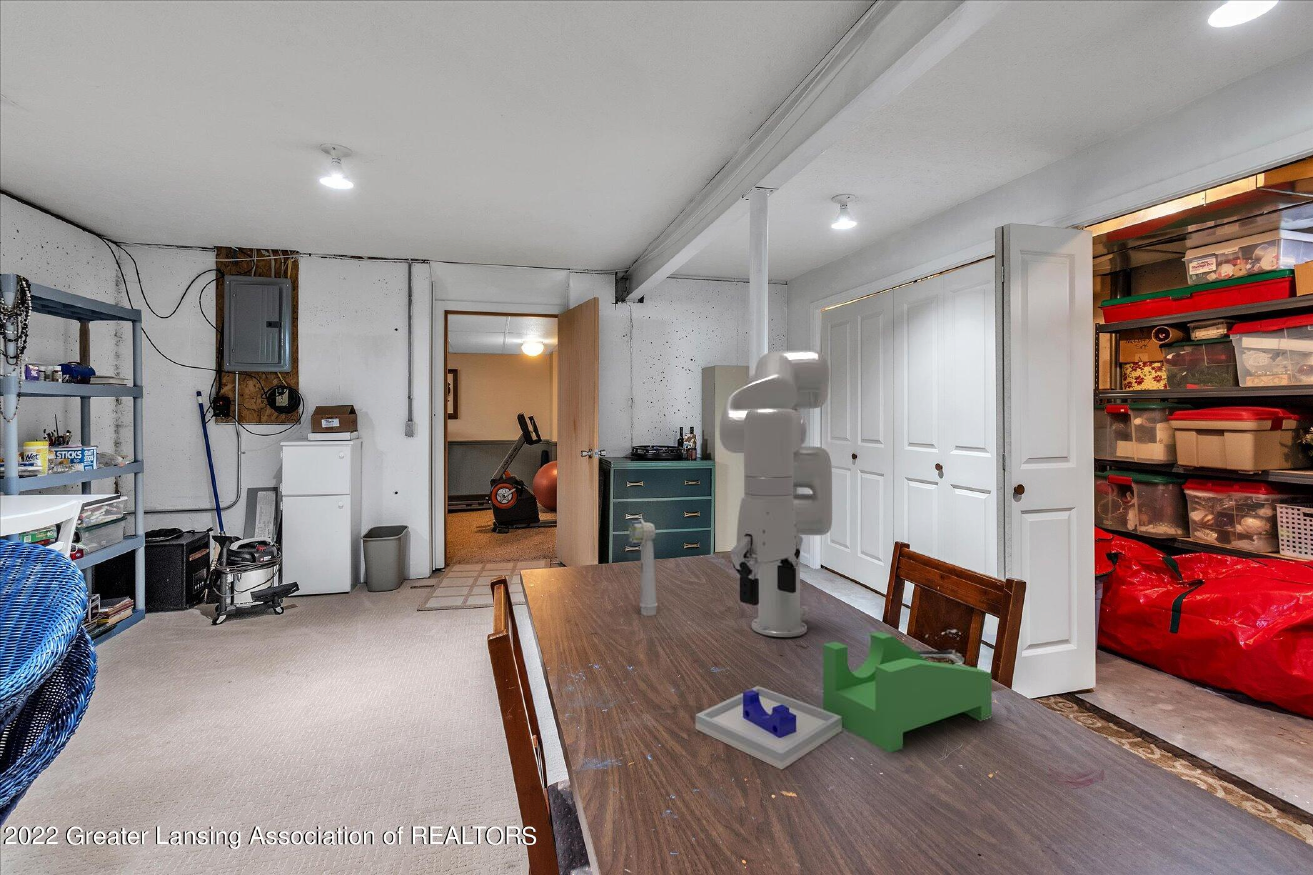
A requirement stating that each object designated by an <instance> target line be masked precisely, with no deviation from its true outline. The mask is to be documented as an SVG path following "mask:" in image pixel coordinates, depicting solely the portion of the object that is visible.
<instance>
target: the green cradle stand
mask: <svg viewBox="0 0 1313 875" xmlns="http://www.w3.org/2000/svg"><path fill="white" fill-rule="evenodd" d="M869 636H870V648H869V653H868V655H867V658H866V660H865V661H864V662H863V664H862V665H861V666H860V667H859V668H858V669H856V670H854V671H851V669H850V667H849V665H848V646H847V645H845V644H842V643H839V642H837V641H833V642H828V643H824V644H822V646H823V647H822V650H823V652H822V654H823V657H822V662H823V664H822V666H823V668H822V672H823V674H822V678H823V679H822V681H823V682H822V684H823V685H822V687H823V688H822V691H823V692H822V693H823V695H822V696H823V697H822V700H823V702H822V705H823V706H822V710H825V711H828V712H831V713H833V714H836V715H839V716H842V728H845V729H847V730H848V731H850V732H852V733H854V734H855V735H856V736H859V737H861V738H863V739H864V740H867V741H868V742H870V743H872V744H874V745H875V746H877V747H879V748H880V749H883V750H884V751H886V752H888V753H889V754H890V753H893V752H896V751H899V750H902V749H904V743H903V742H904V739H903V738H904V737H903V736H904V733H907V732H908V731H912V730H914V729H917V728H920V727H923V726H925V725H929V724H931V723H935V722H937V721H940V720H944V719H946V718H949V717H951V716H954V715H958V714H961V713H963V712H964V713H963V714H965V713H967V714H968V715H971V716H973V717H975V718H977V719H979V720H981V721H982V720H984V719H986V718H989V717H990V716H993V715H992V713H993V712H992V709H993V707H992V705H993V704H992V673H991V672H988V671H986V670H984V669H980V668H977V667H971V666H967V665H966V666H967V667H966V666H965V665H963V666H959V665H952V664H945V663H937V661H936V662H930V660H928V659H926V658H924V657H923V656H921V655H920V654H918V653H917V652H915V651H916V650H914V648H911V647H910V646H908V645H907V644H905V643H904V642H903V641H901V640H900V639H898V638H897V637H895V636H894V635H891V634H889V633H886V632H883V631H878V632H874V633H873V632H872V633H869ZM967 714H966V715H967ZM981 721H980V722H981Z"/></svg>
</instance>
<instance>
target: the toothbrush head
mask: <svg viewBox="0 0 1313 875" xmlns="http://www.w3.org/2000/svg"><path fill="white" fill-rule="evenodd" d="M629 525H630V526H629V528H628V535H629V536H630V538H629V541H630V543H631V544H632V545H639V546H640V602H639V606H640V614H641V615H642V616H645V617H646V616H647V617H651V616H655V615H656V614H657V612H658V611H657V609H658V608H657V606H658V605H659V603H658V602H657V590H656V589H657V588H656V570H655V569H656V568H655V555H654V554H655V553H654V552H655V550H654V539H655V537H656V527H655V524H653V523H651V522H645V521H644V519H643V518H640V519H639V518H638V519H637V520H635V521H633V520H631V521H630V522H629Z"/></svg>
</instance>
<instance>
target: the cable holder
mask: <svg viewBox="0 0 1313 875" xmlns="http://www.w3.org/2000/svg"><path fill="white" fill-rule="evenodd" d="M748 690H749V691H748ZM748 690H745V691H743V692H742V693H743V718H745V719H746V720H748V721H750V722H752V723H753V724H755V725H757V726H759V727H761V728H762V729H764V730H766V731H768V732H769V733H771V734H773V735H775V736H777V737H778V738H782V737H784V736H787V735H789V734H792V733H795V732H796V715H795V714H793V713H791V712H789V708H788V707H786V706H784V705H782V704H781V705H778V706H775V707H773V708H772V713H771V714H768V713H767V712H766V711H765V710H764V708H763V706H762V704H761V702H760V699H759V693H758V692H756V691H754V690H750V689H748Z"/></svg>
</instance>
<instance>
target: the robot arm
mask: <svg viewBox="0 0 1313 875" xmlns="http://www.w3.org/2000/svg"><path fill="white" fill-rule="evenodd" d="M829 383H830V366H829V363H828V360H827V358H826V356H825V355H824V353H822V352H821V351H819V350H816V349H797V350H796V349H795V350H791V349H790V350H774V351H770V352H767V353H765V354H763V355H762V356H761V357H760V358H759V359H758V361H757V362H756V366H755V370H754V373H753V374H752V375H750V376H749V377H748V379H747V385H744V386H743V387H741V388H739V389H738V390H737V389H736V391H733V392H732V393H731V394H730V395H729V396H728V397H727V399H726V401H725V403H724V406H723V409H722V413H721V418H720V421H719V439H720V443H721V446H722V447H723V448H724V449H725V450H726V451H727V452H729V453H733V454H743V459H744V460H743V475H744V476H743V496H742V497H741V499H740V504H739V510H738V516H737V517H738V518H737V526H736V527H737V528H736V544H735V546H734V547H733V548H732V549H730V551H729V555H730V558H731V561H732V563H733V565H732V567H733V569H734V570H735V571H736V575H737V577H739V602H740V603H743V604H748V605H751V606H758V608H757V609H758V611H757V613H758V614H757V616H758V617H757V618H755V619H752V621H751V628H752V630H753V631H754V632H756V633H758V634H761V635H764V636H768V637H775V638H776V637H777V638H793V637H799V636H802V635H804V634H805V633H806V632H807V631H808V626H807V624H806V622H804V621H802V617H803V616H805V615H807V614H809V613H810V609H809V607H808V606H807V605H804V606H801V548H802V544H803V540H804V539H803V537H802V536H824V535H827V534H828V533H829V532H830V531H831V528H832V526H833V525H832V524H833V471H832V470H833V468H832V459H831V456H830V454H829V452H828V450H827V449H826V448H823V447H820V446H812V445H811V446H809V445H808V446H803V444H804V443H805V442H806V439H807V424H806V421H805V419H804V418H803V416H802V415H801V414H800V413H799V411H797V410H798V409H801V410H802V409H803V410H804V409H808V410H809V409H819V408H821V407H823V406H824V405H825V404H826V402H827V398H828V394H829V386H830V384H829ZM794 488H801V489H803V488H805V489H809V490H810V491H811V492H812V493H794ZM750 564H751V567H750V566H749V565H750ZM757 576H758V577H757Z"/></svg>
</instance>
